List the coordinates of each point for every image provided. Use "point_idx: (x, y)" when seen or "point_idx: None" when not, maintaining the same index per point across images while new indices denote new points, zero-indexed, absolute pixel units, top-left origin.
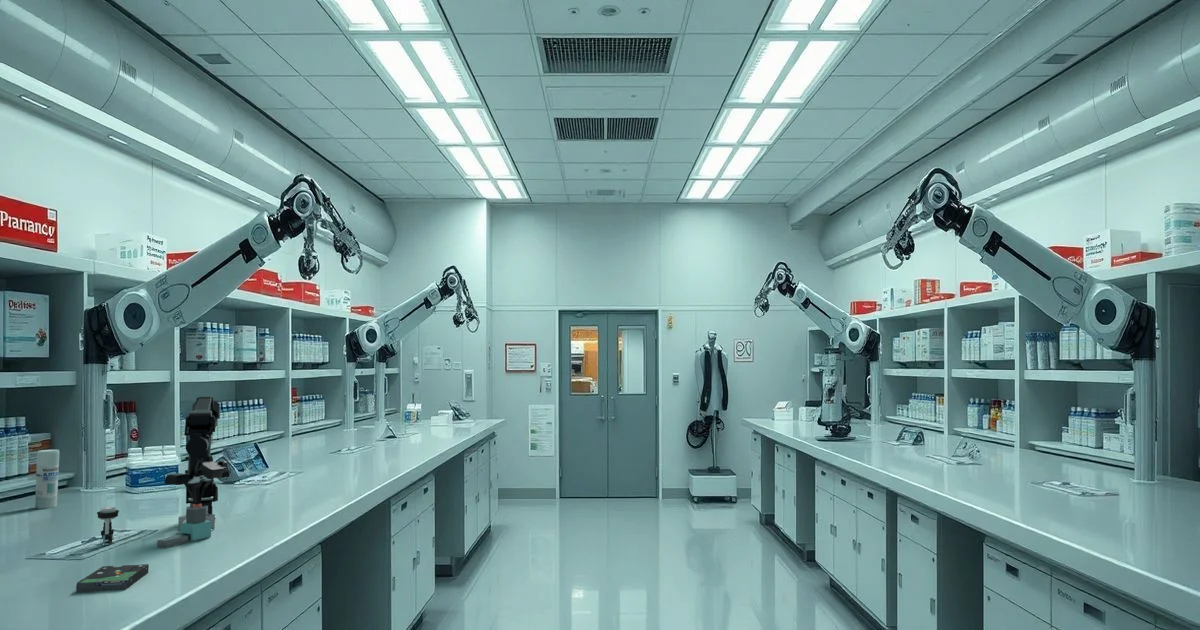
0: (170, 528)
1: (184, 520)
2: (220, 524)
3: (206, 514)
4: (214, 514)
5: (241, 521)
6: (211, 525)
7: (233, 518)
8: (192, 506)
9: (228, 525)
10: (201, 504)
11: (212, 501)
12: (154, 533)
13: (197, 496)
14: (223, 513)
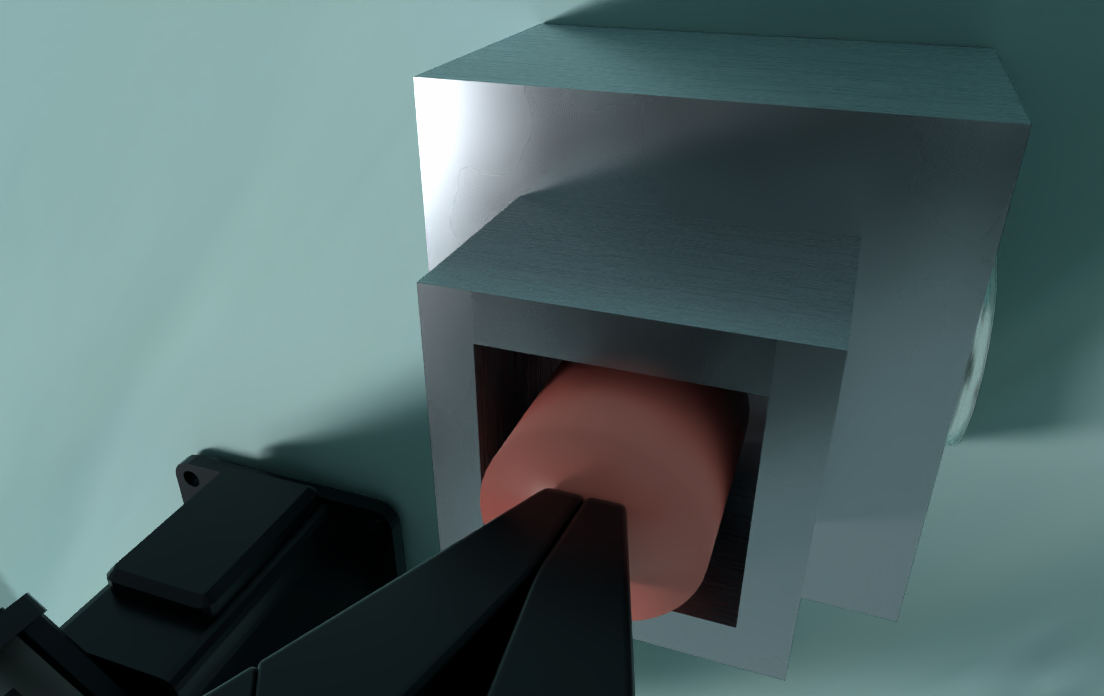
0: None
1: (965, 423)
2: (284, 223)
3: (549, 204)
4: (422, 81)
5: (39, 89)
6: (575, 43)
7: (39, 326)
8: None
9: (260, 48)
10: (535, 425)
11: (48, 623)
12: (1074, 684)
13: (592, 688)
14: (19, 566)
